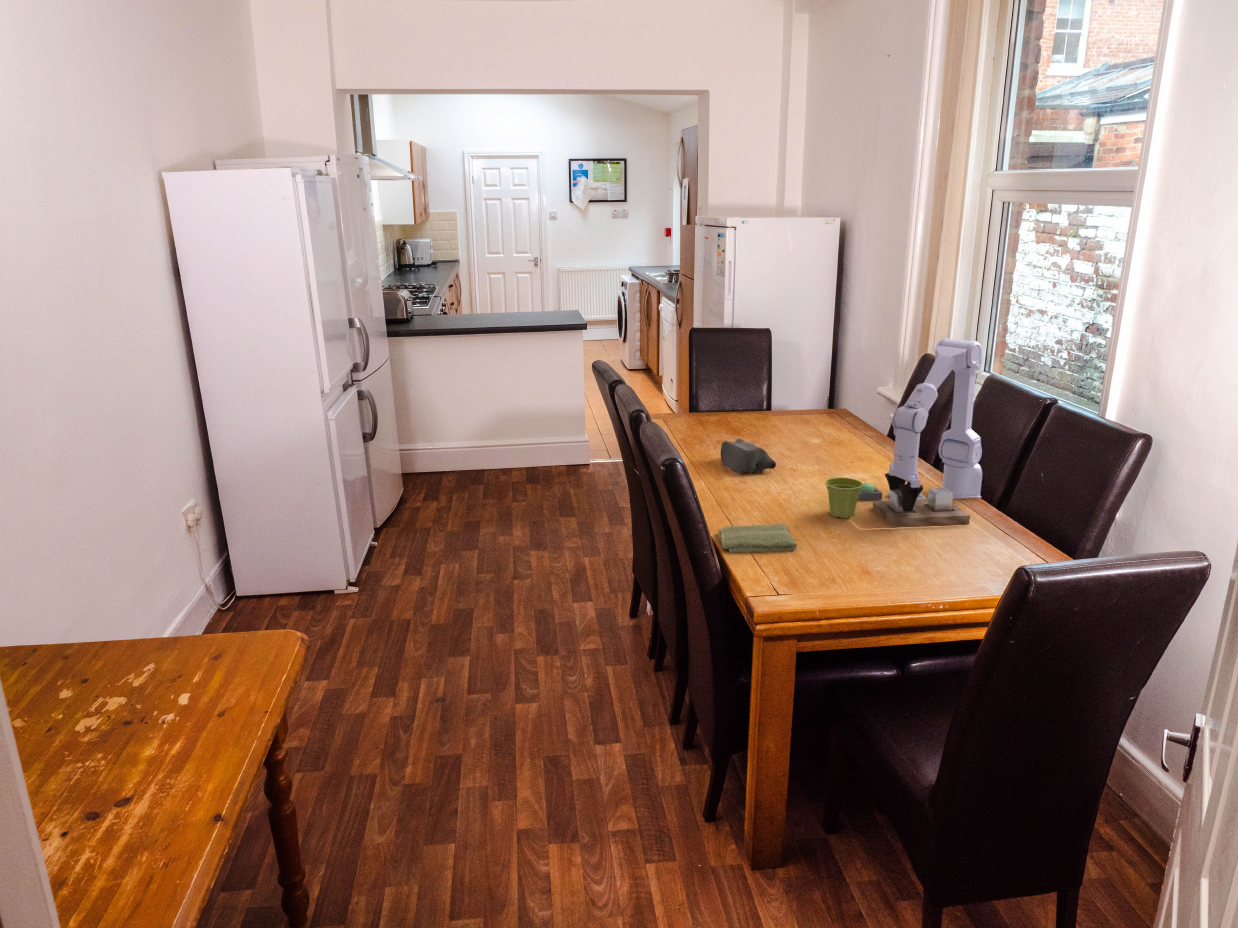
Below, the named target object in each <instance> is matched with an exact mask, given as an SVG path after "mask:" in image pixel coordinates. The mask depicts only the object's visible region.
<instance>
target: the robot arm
mask: <svg viewBox="0 0 1238 928" xmlns="http://www.w3.org/2000/svg"><path fill="white" fill-rule="evenodd" d="M934 349H935V350H934V360H935V361H934V362H933V364H932V366H931V369H930V370H929V372H928V374H927V376H926V378H925V380H924V382H923V383H918V384H916V386H915V388H914V390H913V391H912V392H911V394H910V396H909V397H908V399H907V401H905V403H904V404H903V405H902V406H900V407H898V408H897V409H895V411H894V413H893V415H892V418H891V424H892V427H893V435H894V436H895V441H894V452H893V453H894V454H893V462H891V463H889V470H888V472H887V473H885V474H884V476H885V479H886V481H887V483H888V487H889V491H890V490H894V489H900V490H901V494H902V507H903V511H904V512H909V511H912V510H913V507H914V505H915V502H916V500H917V497H918V496H919V494H922V491H923V490H924V486H923V485H922V484H921V479H920V478H919V475H918V474H919V473H918V461H919V452H920V451H919V450H920V449H919V448H920V438H921V432H922V431H923V430H924V429H925V428H926V425H927V421H928V417H929V411H930V409H931V408H932V406H933V405H934V403H935V402H936V401H937V398H938V396H939V394H938V389H939V387H940V386H941V385H942V383H943V382H944V381H945V380H946V378H947V377H948V376H949V374H951V372H952V371H953V372H954V373H955V374H954V375H955V377H954V386H953V398H952V400H953V401H952V410H951V412H952V413H951V423H950V424H951V425H950V429H948V430H946V431H945V432H943V433H942V434H941V440H940V443H939V446H938V455H939V458H940V459H941V460H942V461H941V462H942V463H944V465H943V477H942V485H941V486H942V487H941V488H947V489H948V490H950V491H951V492H952V493H953V500H954V499H975V498H981V499H982V496H981V491H982V480H983V470H982V467H981V465H980V464H979V462H980V460H981V458H982V454H983V450H982V449H983V448H982V440H981V439H982V438H981V436H980V435H978V433H977V432H975V431H974V430H973V429H972V424H973V414H974V413H973V412H974V403H975V402H974V401H975V392H976V389H975V388H976V378H977V371H980V370H981V367H982V361H983V360H982V359H983V347H982V345H981V344H980V342H979V341H976V340H974V341H971V340H963V339H956V338H955V339H954V338H947V337H942V338H941V339H940V340H939V341H938V342H937V344H936V347H935V348H934Z"/></svg>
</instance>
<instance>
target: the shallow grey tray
mask: <svg viewBox="0 0 1238 928" xmlns="http://www.w3.org/2000/svg"><path fill="white" fill-rule="evenodd" d="M887 497H889V498H890V490H889V491H887ZM923 499H928V497H926V496H924V495H923V494H922V493H920V494H919V496H918V497H917V500H923Z"/></svg>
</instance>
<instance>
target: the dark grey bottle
mask: <svg viewBox="0 0 1238 928" xmlns="http://www.w3.org/2000/svg"><path fill="white" fill-rule="evenodd" d="M719 455H720V461H721V463H722V465H723V467H724V468H726V467H727V468H726V469H728V468H729V470H730V469H731V470H730V471H733V472H736V473H739V474H744V473H760V474H761V473H763V472H764V471H765V470H767V469H771V470H772V469H775V468H776V466H777V462H776V461H775V460H774V459H772V458H771V456H770V455H769V454H768V452H767V451H766V450H765V449H764V448H763V447H761V446H758V445H756V444H754V443H752V442H747V441H745V440H744V439H742V438H737V439H736V440H735V441H734V442H731V441H729V440H725V441H723V442H722V443H721V446H720V454H719Z"/></svg>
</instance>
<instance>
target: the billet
mask: <svg viewBox="0 0 1238 928" xmlns="http://www.w3.org/2000/svg"><path fill="white" fill-rule="evenodd" d="M889 491H890V497H889V500H888V501H889V509H890V510H891V511H892V512H893V513H912V511H909V512H904V511H903V507H902V494H901V490H900V489H894V490H890V489H889Z"/></svg>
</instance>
